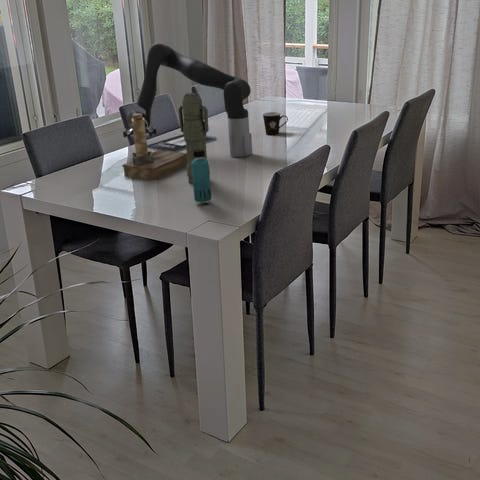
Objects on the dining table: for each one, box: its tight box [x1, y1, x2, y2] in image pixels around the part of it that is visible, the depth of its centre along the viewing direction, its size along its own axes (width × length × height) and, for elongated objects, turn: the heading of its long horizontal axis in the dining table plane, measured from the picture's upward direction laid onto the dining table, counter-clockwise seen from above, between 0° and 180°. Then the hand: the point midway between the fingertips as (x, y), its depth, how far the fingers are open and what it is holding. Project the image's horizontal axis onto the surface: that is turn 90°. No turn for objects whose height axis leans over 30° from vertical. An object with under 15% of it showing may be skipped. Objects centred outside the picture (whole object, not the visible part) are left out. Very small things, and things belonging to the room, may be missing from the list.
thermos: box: [178, 92, 211, 185], centre depth 267 cm, size 9×12×35 cm
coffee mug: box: [262, 111, 289, 136], centre depth 338 cm, size 12×9×10 cm
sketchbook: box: [147, 133, 217, 152], centre depth 334 cm, size 22×30×2 cm
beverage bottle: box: [191, 149, 213, 203], centre depth 244 cm, size 6×7×20 cm
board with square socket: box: [121, 150, 188, 181], centre depth 291 cm, size 17×25×8 cm
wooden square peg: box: [132, 114, 149, 157], centre depth 285 cm, size 5×5×20 cm
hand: (139, 135), depth 287 cm, fingers open, 8 cm apart
